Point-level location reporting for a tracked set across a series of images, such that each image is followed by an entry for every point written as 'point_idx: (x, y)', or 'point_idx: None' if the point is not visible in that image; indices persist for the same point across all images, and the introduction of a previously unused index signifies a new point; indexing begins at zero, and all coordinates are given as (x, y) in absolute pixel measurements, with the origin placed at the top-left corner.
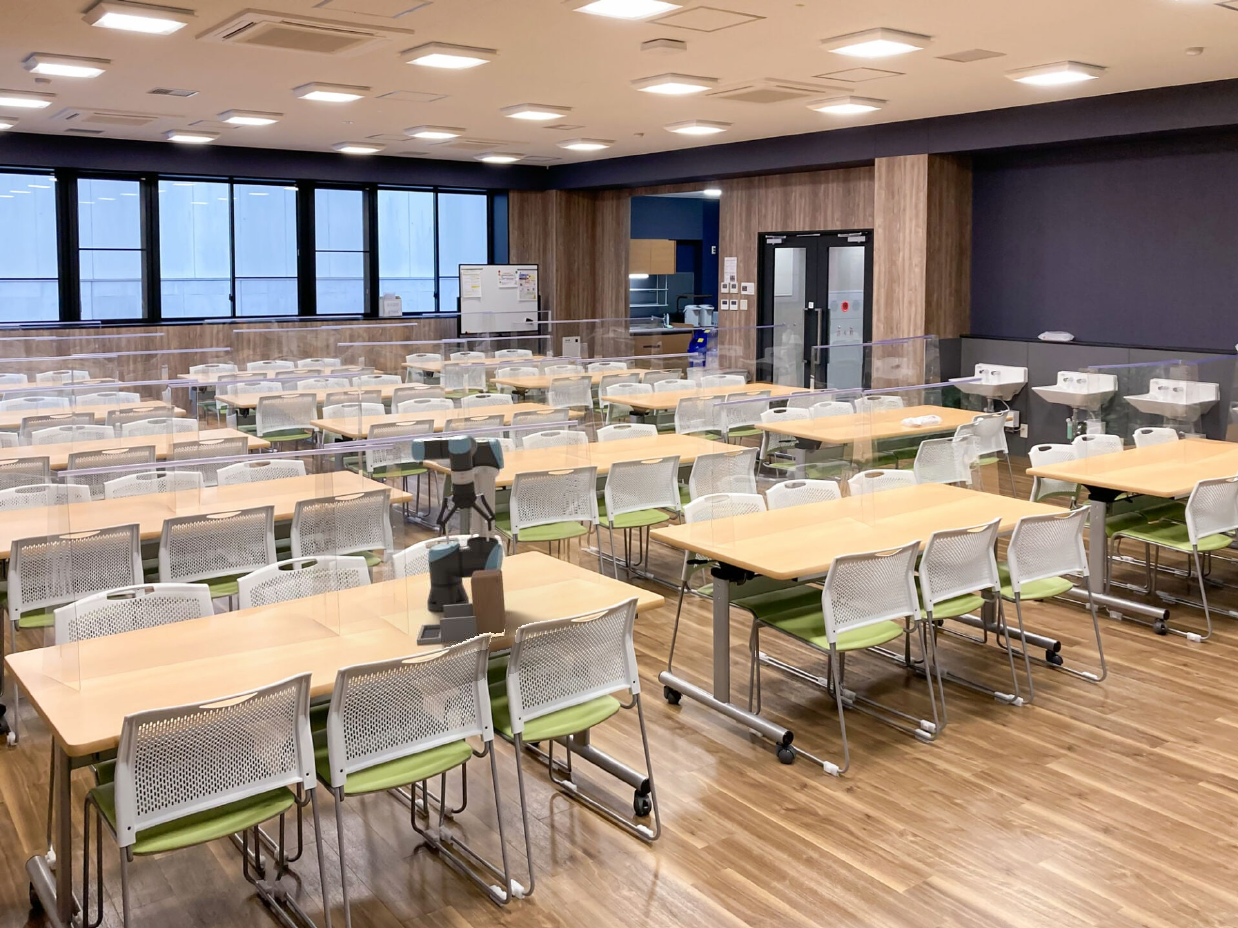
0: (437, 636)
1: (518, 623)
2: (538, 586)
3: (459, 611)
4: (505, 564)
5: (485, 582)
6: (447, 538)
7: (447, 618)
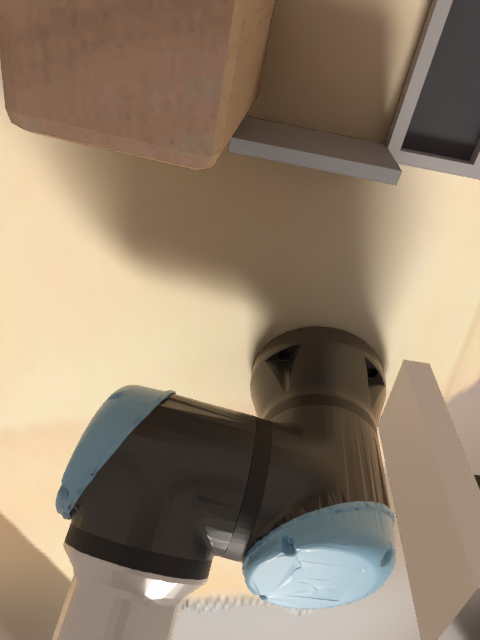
0: (455, 14)
1: None
2: (53, 422)
3: (323, 148)
4: None
5: None
6: (433, 413)
7: None
